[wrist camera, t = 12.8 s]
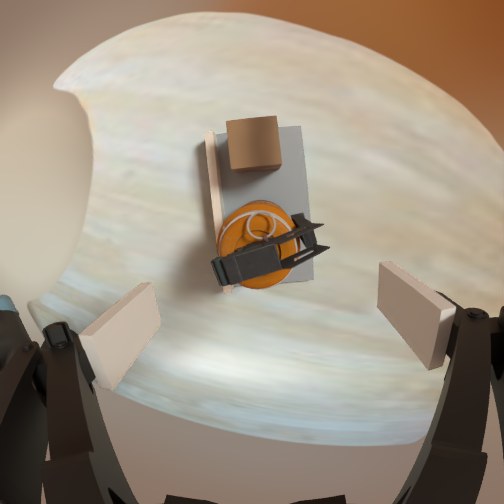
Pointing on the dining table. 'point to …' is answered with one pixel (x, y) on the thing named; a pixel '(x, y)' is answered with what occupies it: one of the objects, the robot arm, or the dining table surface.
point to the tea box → (254, 144)
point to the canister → (262, 245)
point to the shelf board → (260, 187)
